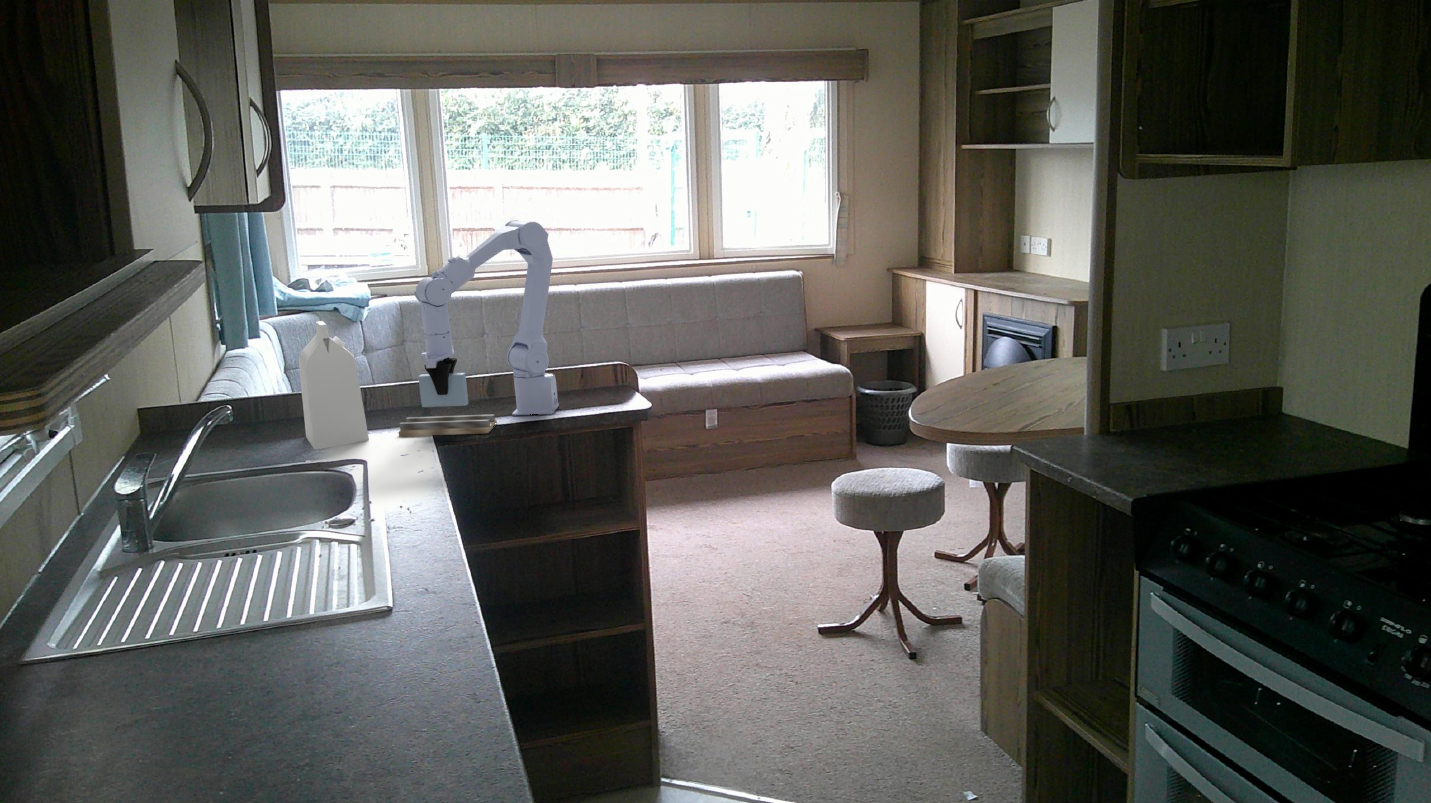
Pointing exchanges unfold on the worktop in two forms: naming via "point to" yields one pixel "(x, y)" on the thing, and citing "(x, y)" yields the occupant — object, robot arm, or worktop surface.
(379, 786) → the worktop surface
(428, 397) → the door panel
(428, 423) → the track board
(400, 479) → the worktop surface
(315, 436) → the milk
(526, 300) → the robot arm
